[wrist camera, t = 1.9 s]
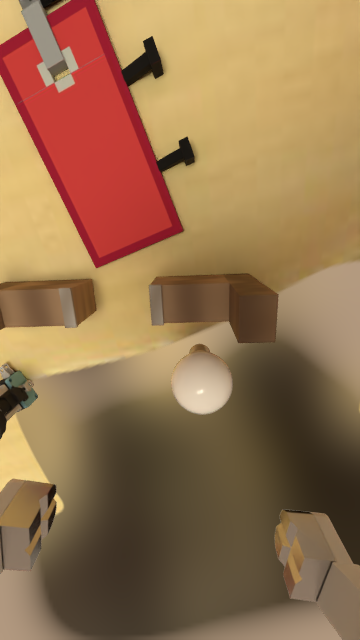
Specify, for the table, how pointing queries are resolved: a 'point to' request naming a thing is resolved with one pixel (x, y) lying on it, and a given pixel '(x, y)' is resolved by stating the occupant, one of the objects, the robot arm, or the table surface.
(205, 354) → the lightbulb
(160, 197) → the red board with handle
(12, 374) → the push button
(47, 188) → the table surface
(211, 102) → the table surface
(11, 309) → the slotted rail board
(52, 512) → the robot arm
